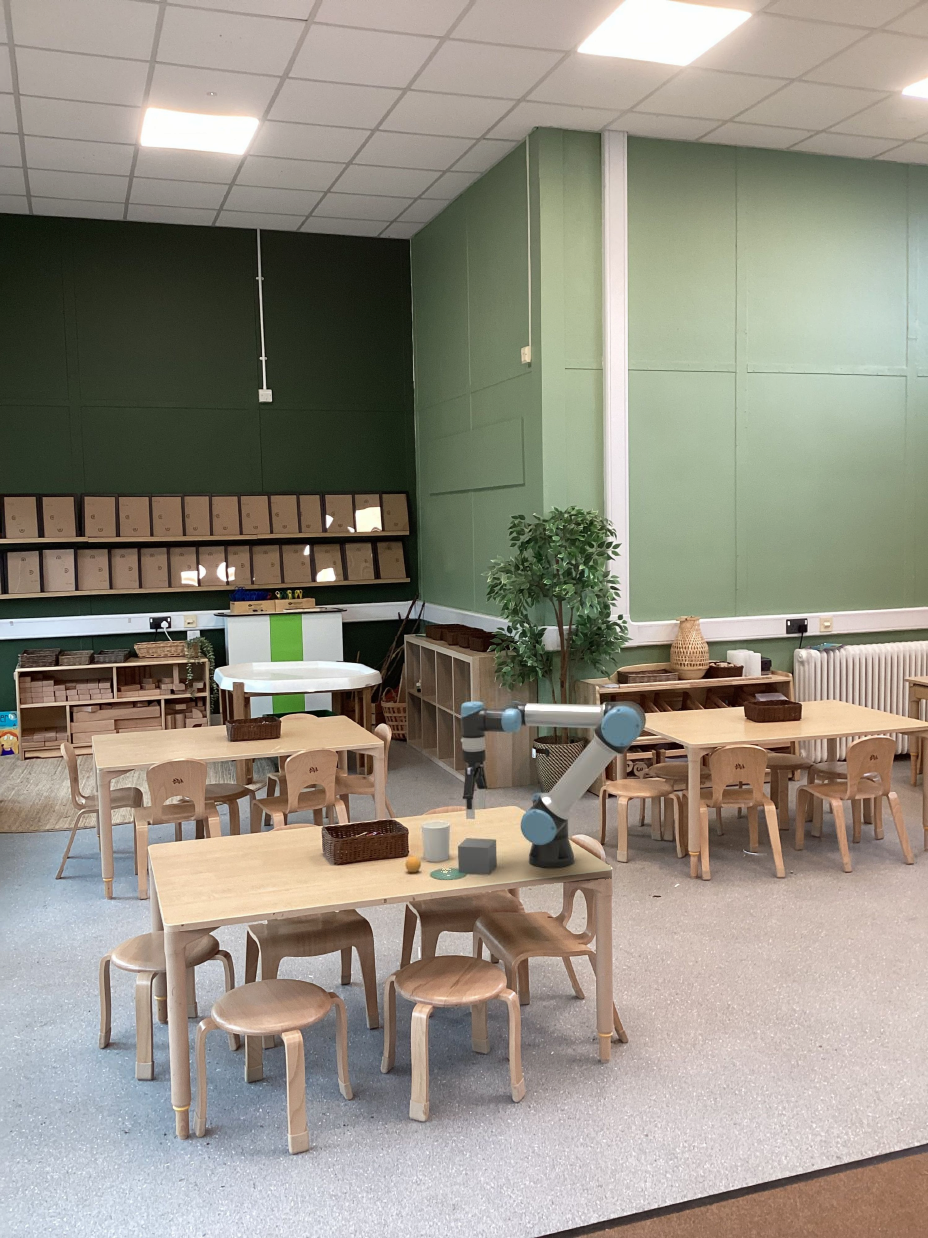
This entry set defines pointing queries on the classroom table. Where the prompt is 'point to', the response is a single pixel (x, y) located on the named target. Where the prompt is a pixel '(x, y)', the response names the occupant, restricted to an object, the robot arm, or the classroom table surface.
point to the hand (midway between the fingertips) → (476, 813)
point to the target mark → (443, 876)
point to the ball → (413, 864)
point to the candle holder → (436, 840)
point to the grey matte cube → (477, 856)
